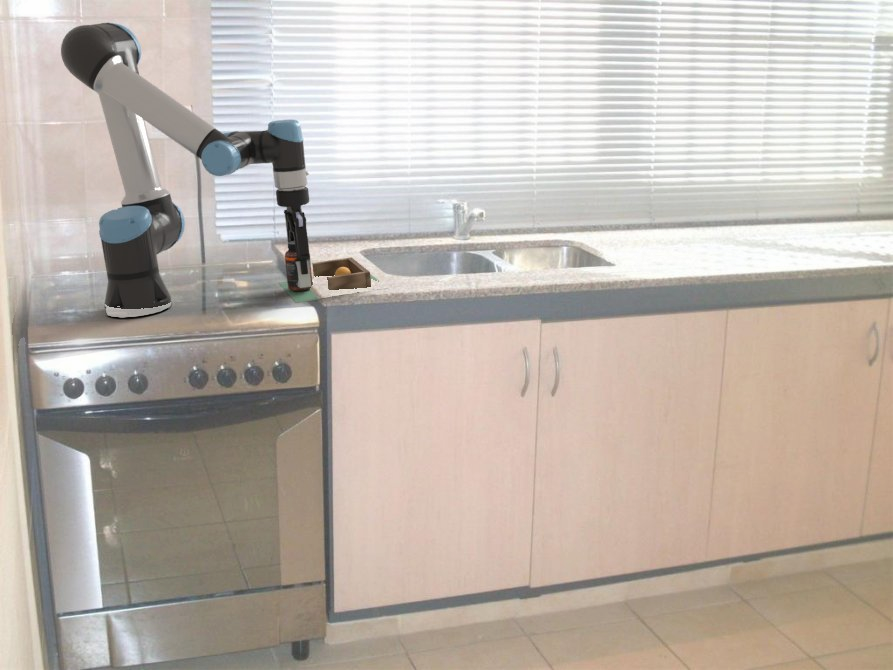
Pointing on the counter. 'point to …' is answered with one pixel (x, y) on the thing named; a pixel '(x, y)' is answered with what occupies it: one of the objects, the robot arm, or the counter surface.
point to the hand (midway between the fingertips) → (302, 283)
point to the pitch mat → (304, 293)
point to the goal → (347, 281)
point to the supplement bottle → (294, 268)
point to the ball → (342, 271)
